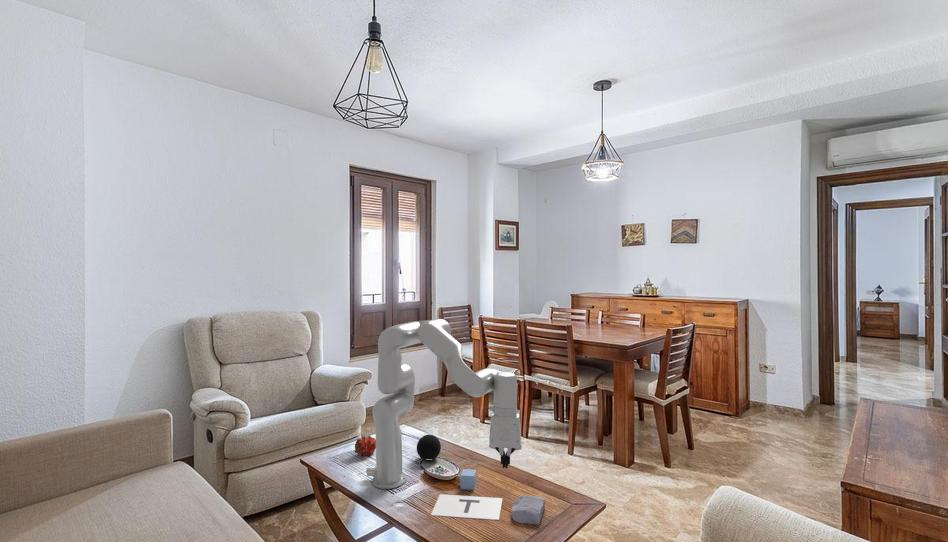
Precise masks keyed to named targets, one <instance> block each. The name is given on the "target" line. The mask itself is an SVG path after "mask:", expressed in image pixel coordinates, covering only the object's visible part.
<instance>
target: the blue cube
mask: <svg viewBox="0 0 948 542" xmlns="http://www.w3.org/2000/svg"><path fill="white" fill-rule="evenodd" d="M476 486H477V469H469V468H463V469H462V471H461V473H460V490H470V491H471V490H474V491H475V489H476Z"/></svg>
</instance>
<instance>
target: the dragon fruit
mask: <svg viewBox="0 0 948 542" xmlns="http://www.w3.org/2000/svg"><path fill="white" fill-rule="evenodd" d="M354 449H355V450H354V453H356V454H357V456H360V457H362V458H363V457H365V456H369V457H370V456H372V454H374V453H375V451H376V437H372V436H371V435H367V437H366V436H365V435H364V436H362V437H361V438H357V440H356V441H355V444H354Z"/></svg>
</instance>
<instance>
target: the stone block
mask: <svg viewBox="0 0 948 542" xmlns="http://www.w3.org/2000/svg"><path fill="white" fill-rule="evenodd" d="M545 506H546V500H545V498H542V497H540V496H535V495H530V494H526V495H520V496H517V498H516V500H515V501H514V503H513V504H512V507H511V517H512V520H513V521H514V522H517V523H520V524H530V525H540V523H541V521H542V516H543V514H544V510H545V508H546V507H545Z"/></svg>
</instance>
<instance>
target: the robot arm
mask: <svg viewBox="0 0 948 542" xmlns="http://www.w3.org/2000/svg"><path fill="white" fill-rule="evenodd" d="M451 334H452V327H451V325H450V324H449V322H448V321H446V320H445V319H442V318H435V319H427V320H416V321H409V322H404V323H400V324H395V325H393V326H389V327H386V328H385V329H384V330H383V331H382V332H381V333H380V334H379V336H378V342H377V350H378V361H377V362H378V364H377V387H378V391H379V392H380V393H381V394H383V395H386V396H384V397H381V398H380V399H378V400H377V401H376V402H375V403H374V404H373V407H372V411H371V412H372V418H373V422H374V429H375V431H374V432H375V440H376V449H375V462H376V465H375V466H376V467H375V468H373V467H367V468H366V470H365V472H366V476H367V477H373V478H372V481H371V484H372V486H373V487H374V488H375V487H376V488H378V489H382V490H389V489H395V488H399V487H401V486H402V485H404V484H405V483H406V482H407V481H408V480H407V479H408V478H407V477H408V476H407V474H406V473H405V472H403V446H402V445H403V442H402V441H403V439H402V436H403V435H402V429H401V427H400V424H399V421H398V420H399V419H401V418H403V417H405V416H406V415H408V414H410V413H411V411H413V407H414V403H415V387H416V386H415V385H416V383H415V382H416V381H415V379H416V378H415V373H414V370H413V369H412V367H411V366H410V365H409V364H407V363H404V362H403V363H402V361H403V360H402V359H403V356H402V353H401V349H402V348H407V347H409V346H413V345H417V344H422V345H424V347H426V348H427V349H428V350H429V351H430V352H431V353H433V354H434V355H435V356H436V357H437V358H438V359H439V360H441V362H443V363H444V365H445V367H446V371H447V373H448V375H449V377H450V378H451V380H452V382H453V383H454V384H455V385H456V386H457V387H459V389H461V390H462V391H463V392H464V393H466V394H467V395H468V396H470V397H473V398H480V397H483V396H485V395H486V394H488V393H491V392H493V405H491V406H489V409H488V410H489V411H492V414H491V416H490V421H489V435H488V440H489V445H488V448H489V449H492V450H496V452H498V454H499V456H500V464H501V465H502V468H503V469H504V468H506V469H509V465H511V455H513V453H514V452H515V451H520V450H522V448H523V445H522V432H521V431H522V429H521V420H520V415H519V414H518V401H517V400H518V397H517V396H518V393H517V392H518V381H517V380H518V377H517V375H516V374H515V373H514V372H511V371H500V370H497V369H494V368H482V369H480V370H478V371H476V372H475V371H473V370H472V369H471V367H469V366H468V365H467V364H466V363H465V362H464V359H463V358H462V351H463V345H462V344H461V343H460V342H459V341H457V340H456V338H454V337H453V336H451ZM504 448H505V449H506V448H507V450H506V451H505V449H504Z"/></svg>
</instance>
